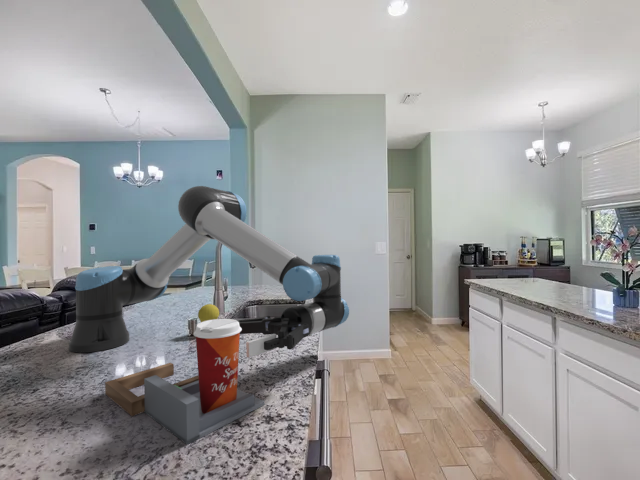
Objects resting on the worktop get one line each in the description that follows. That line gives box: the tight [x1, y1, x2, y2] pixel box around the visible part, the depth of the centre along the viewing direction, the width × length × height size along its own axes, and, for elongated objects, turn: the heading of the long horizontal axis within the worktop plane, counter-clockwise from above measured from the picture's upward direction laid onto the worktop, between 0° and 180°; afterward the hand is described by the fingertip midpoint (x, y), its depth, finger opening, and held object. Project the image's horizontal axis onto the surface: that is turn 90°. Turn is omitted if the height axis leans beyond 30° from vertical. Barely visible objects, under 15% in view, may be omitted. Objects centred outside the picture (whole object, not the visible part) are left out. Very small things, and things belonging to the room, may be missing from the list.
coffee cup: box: [193, 318, 242, 414], centre depth 57 cm, size 8×8×15 cm
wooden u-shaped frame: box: [104, 362, 199, 417], centre depth 65 cm, size 13×14×2 cm
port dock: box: [143, 375, 266, 446], centre depth 58 cm, size 15×15×6 cm
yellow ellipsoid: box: [197, 303, 220, 323], centre depth 106 cm, size 7×7×10 cm
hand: (225, 342), depth 61 cm, fingers open, 13 cm apart
